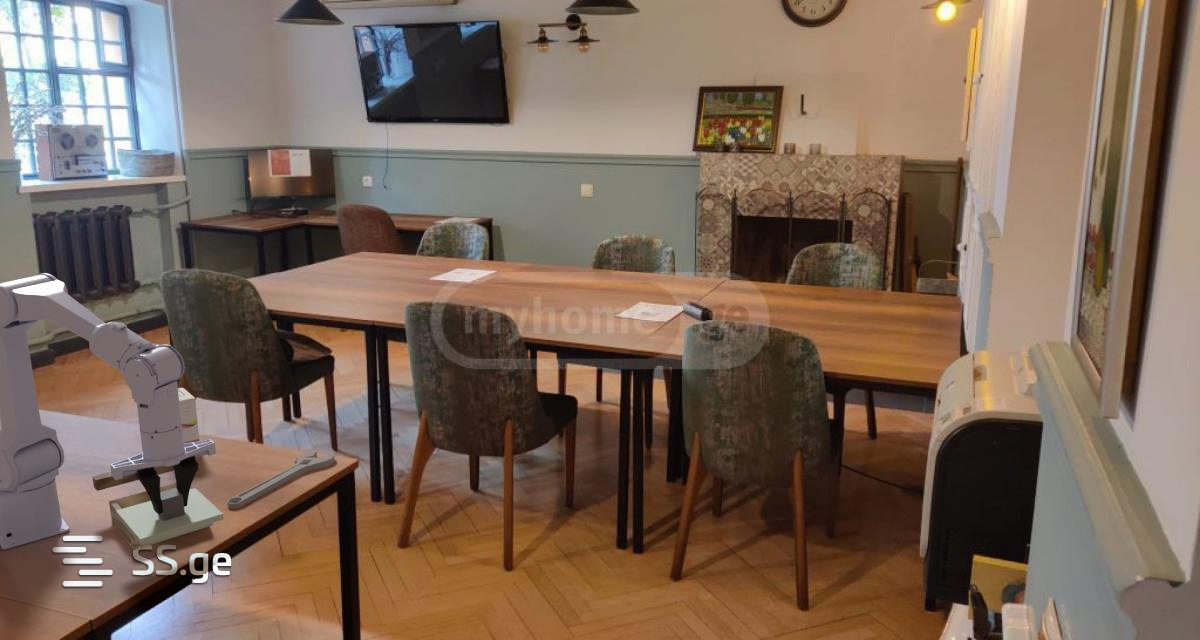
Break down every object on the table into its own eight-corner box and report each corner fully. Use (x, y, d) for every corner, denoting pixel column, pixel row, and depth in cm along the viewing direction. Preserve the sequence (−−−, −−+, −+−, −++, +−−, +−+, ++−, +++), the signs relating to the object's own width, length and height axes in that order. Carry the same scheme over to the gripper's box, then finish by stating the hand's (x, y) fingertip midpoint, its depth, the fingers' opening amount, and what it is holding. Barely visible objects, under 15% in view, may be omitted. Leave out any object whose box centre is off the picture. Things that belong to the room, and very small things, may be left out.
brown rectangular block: (97, 490, 148) (95, 480, 148) (93, 487, 149) (92, 476, 149) (182, 468, 157) (181, 458, 157) (179, 464, 159) (177, 454, 158)
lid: (141, 551, 128) (137, 517, 126) (117, 522, 136) (113, 490, 135) (224, 525, 136) (220, 493, 135) (196, 499, 144) (193, 468, 143)
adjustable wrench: (235, 512, 154) (234, 503, 153) (211, 504, 157) (210, 495, 156) (339, 461, 175) (339, 453, 174) (317, 455, 178) (316, 447, 177)
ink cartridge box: (202, 451, 178) (195, 383, 174) (176, 457, 174) (168, 388, 171) (189, 438, 184) (181, 373, 180) (163, 444, 181) (156, 377, 177)
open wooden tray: (133, 549, 140) (130, 527, 139) (111, 522, 148) (108, 501, 147) (209, 525, 148) (207, 504, 147) (185, 501, 156) (182, 481, 155)
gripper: (116, 446, 123) (127, 532, 127) (219, 422, 133) (227, 502, 137) (102, 432, 128) (113, 515, 132) (202, 409, 138) (211, 487, 142)
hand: (170, 507), depth 135 cm, fingers closed on lid, 3 cm apart
